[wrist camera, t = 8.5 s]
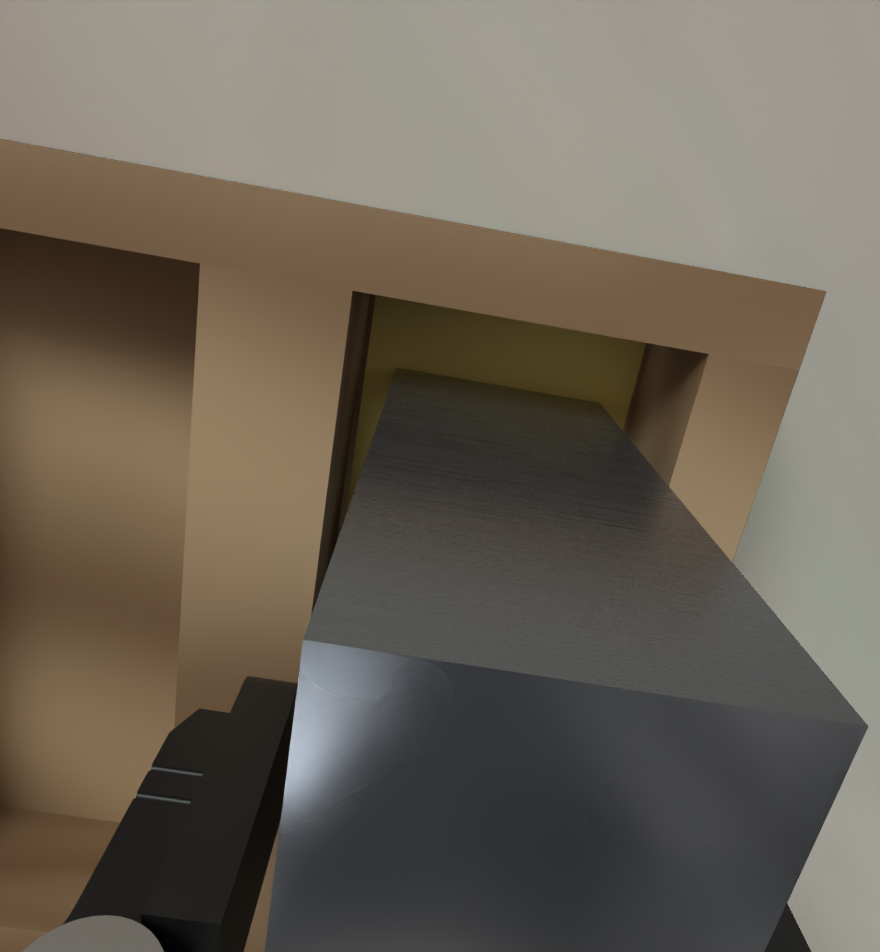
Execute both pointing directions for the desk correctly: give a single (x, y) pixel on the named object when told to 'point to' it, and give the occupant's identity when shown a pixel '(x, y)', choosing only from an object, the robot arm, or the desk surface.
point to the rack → (277, 443)
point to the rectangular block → (542, 703)
